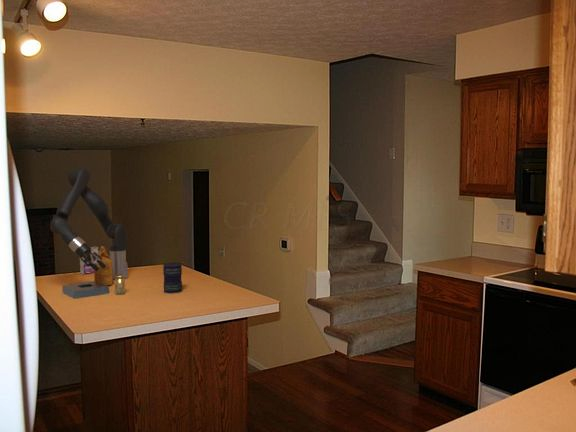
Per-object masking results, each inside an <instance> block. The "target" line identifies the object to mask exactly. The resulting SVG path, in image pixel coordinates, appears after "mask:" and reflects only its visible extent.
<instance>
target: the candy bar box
mask: <svg viewBox="0 0 576 432" xmlns="http://www.w3.org/2000/svg"><path fill="white" fill-rule="evenodd" d="M90 247H91V252H92V253H94V252H96V253H97V254H99V251H100V248H99V246H90ZM94 264H96V262H95V263H94ZM79 267H80V270H79V271H80V274H81V275H89V274H88V273H86V272H90V274H94V273H95V270H94V269H93V268H92V267H90V266H89V267H88V266H87V265H86V264H85V263H84V262H83V261H82V260H81V258H80V257H79Z"/></svg>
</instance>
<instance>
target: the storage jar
mask: <svg viewBox="0 0 576 432" xmlns="http://www.w3.org/2000/svg"><path fill="white" fill-rule="evenodd" d="M182 267H183V265H182V263H181V262H168V263H167V262H165V263H164V264H163V269H162V270H163V271H162V275H163V293H164V294H179V293H182V292H183V288H182V287H183V281H182V274H183V273H182V272H183V268H182Z"/></svg>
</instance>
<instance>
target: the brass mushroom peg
mask: <svg viewBox="0 0 576 432" xmlns="http://www.w3.org/2000/svg"><path fill="white" fill-rule="evenodd" d="M114 278H115V280H114V286H115V295H116V296H123V295H125V294H126V287H125V286H126V284H125V280H126V278H125V275H123V274H119V275H114Z"/></svg>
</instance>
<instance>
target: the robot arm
mask: <svg viewBox="0 0 576 432" xmlns="http://www.w3.org/2000/svg"><path fill="white" fill-rule="evenodd" d="M66 178H67V181H68V183H69V184H70V185H71V187H72V188H71V189H70V190H69V191H68V192H67V193H66V194H65V195H64V196H63V197H62V199H61V201H60V202H59V205H58V207H57V209H56V211H55V212H56V213H55V216H54V217H53V218H52V219H51V221H50V230H51V232H52V233H53V234H56V235H58V234H59V235H60V237H61V239H62V241H63V242H64V243H65V244H66V245H67V246H68V247H69V248H70V249H71V251H73V252H74V253H75V255H77V257H78V258H79V259H80V258H81V260H82V261H83V262H84V263H85V264H86V265H87V266H88V267H89V266H90V267H92V268H93V269H94V270H95V271H96V272H97V271H98V270H99V267H98V266H97V265H96V264H94V263H95V262H96V263H98V264H99V265H100V266H101V267H102V268H103V269H104V268H105V267H106V265H105V264H104V263H103V262H102V258H101V257H100V256H99V255H98V254H97V253H96V252H94V253H92V252H91V247H92V246H89V244H88V243H87V242H86V241H85V240H84V239H83V238H81V237H80V236H79V235H78V234H77V233H76V232H75V231H74V230H73V229H72V228H71V226H70V224H69V223H68V220H69V217H70V216H71V214H72V212H73V209H74V207H75V204H76V203H77V201H78V199H79V197H81V198H82V199H83V201H84V202H85V204H86V205H87V207H88V208H89V209H90V211H91V212H92V213H93V215H94V216H95V218H96V219H97V220H98V222H99V224H100V225H101V227H102V228H103V230H104V232H105V234H106V236H107V237H108V238H109V239H112V240H114V242H113V244H112V245H111V244H110V246H109V257H110V259H111V260H112V268H113V280H114V281H115V278H114V275H119V274H123V275H125V279H128V278H129V276H128V274H129V273H128V262H127V255H126V254H127V253H126V252H127V250H126V249H127V245H128V230H127V227H126V226H125V225H124V224H121V223H120V224H119V223H115V222H114V221H113V220H112V218H111V216H110V214H109V205H108V204H107V202H106V201H105V200H104V198H103V197H102V196H101V195H100V194H99V193H98V192H96V191H94V190H93V189H92V188H90V187H89V186H88V184H89V183H90V180H91V173H90V171H89V170H88V169H87V168H85V167H80V168H71V169H69V170H68V171H67V173H66Z"/></svg>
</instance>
